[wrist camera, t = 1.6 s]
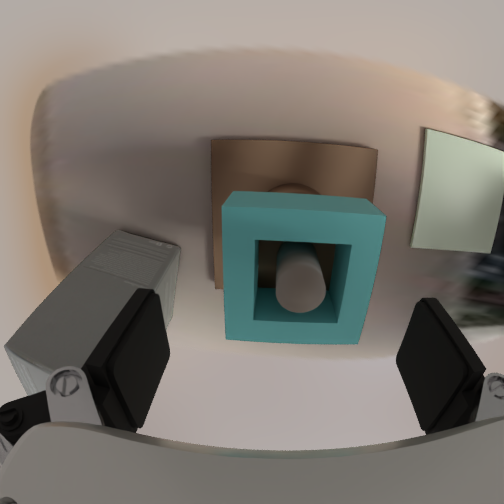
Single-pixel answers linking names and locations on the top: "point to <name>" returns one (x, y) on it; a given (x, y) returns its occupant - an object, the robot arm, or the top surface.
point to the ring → (299, 230)
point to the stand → (289, 181)
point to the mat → (458, 195)
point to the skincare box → (91, 305)
